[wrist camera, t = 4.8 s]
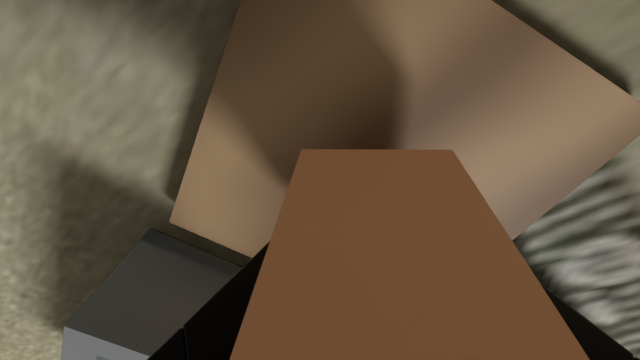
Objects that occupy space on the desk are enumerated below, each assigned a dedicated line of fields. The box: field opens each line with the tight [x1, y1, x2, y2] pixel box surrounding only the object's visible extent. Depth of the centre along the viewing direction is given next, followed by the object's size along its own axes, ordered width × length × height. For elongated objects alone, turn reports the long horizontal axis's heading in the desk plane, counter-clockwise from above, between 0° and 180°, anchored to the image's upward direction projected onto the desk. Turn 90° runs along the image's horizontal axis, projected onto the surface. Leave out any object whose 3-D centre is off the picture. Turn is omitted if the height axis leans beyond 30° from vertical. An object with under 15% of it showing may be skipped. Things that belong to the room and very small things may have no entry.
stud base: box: [169, 0, 640, 258], centre depth 9 cm, size 12×12×6 cm
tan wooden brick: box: [230, 149, 590, 360], centre depth 6 cm, size 4×4×8 cm
